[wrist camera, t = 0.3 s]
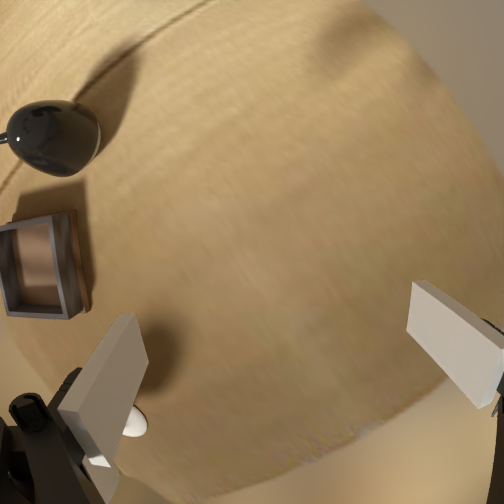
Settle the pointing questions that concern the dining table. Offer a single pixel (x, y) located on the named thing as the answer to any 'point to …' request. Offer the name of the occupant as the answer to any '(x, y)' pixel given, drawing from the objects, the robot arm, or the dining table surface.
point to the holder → (42, 267)
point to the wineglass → (109, 476)
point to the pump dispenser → (53, 136)
